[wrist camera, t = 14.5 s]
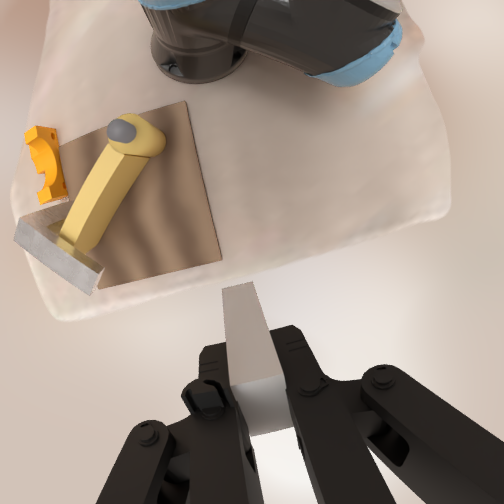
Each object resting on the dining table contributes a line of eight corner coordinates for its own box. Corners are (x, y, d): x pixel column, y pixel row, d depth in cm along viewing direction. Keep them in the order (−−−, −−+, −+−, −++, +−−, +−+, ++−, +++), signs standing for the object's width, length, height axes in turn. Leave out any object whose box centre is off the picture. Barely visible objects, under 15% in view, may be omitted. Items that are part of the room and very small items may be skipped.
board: (185, 102, 37) (185, 100, 36) (221, 257, 44) (221, 260, 43) (61, 147, 35) (58, 147, 34) (101, 286, 43) (98, 289, 42)
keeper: (73, 213, 39) (13, 240, 23) (80, 197, 38) (19, 217, 22) (130, 250, 42) (89, 296, 26) (138, 234, 42) (98, 274, 25)
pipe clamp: (37, 140, 34) (17, 138, 28) (55, 129, 34) (35, 125, 28) (53, 202, 38) (32, 208, 32) (71, 193, 38) (52, 198, 32)
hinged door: (149, 122, 35) (114, 100, 21) (172, 138, 37) (147, 122, 22) (81, 232, 39) (30, 264, 24) (101, 248, 40) (56, 286, 25)
